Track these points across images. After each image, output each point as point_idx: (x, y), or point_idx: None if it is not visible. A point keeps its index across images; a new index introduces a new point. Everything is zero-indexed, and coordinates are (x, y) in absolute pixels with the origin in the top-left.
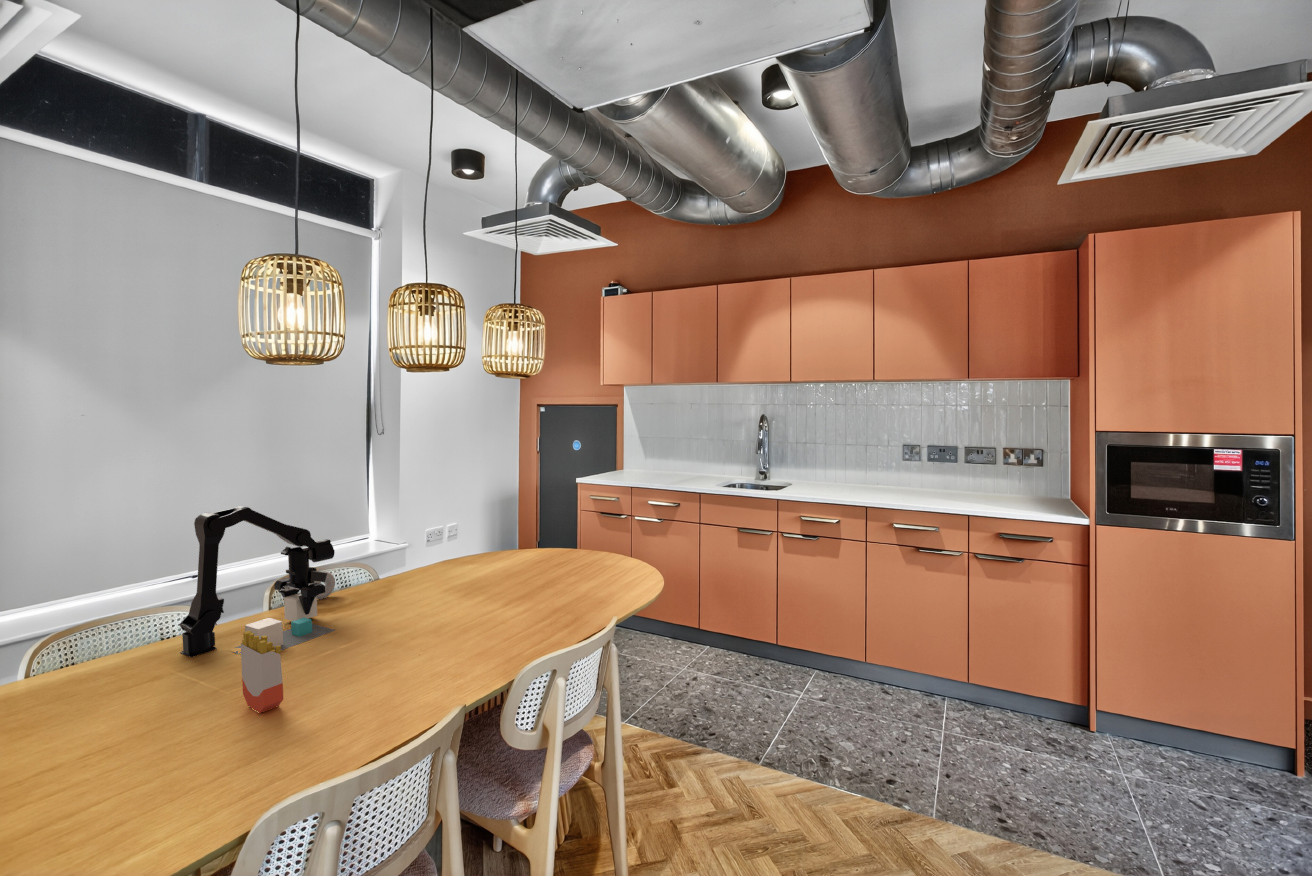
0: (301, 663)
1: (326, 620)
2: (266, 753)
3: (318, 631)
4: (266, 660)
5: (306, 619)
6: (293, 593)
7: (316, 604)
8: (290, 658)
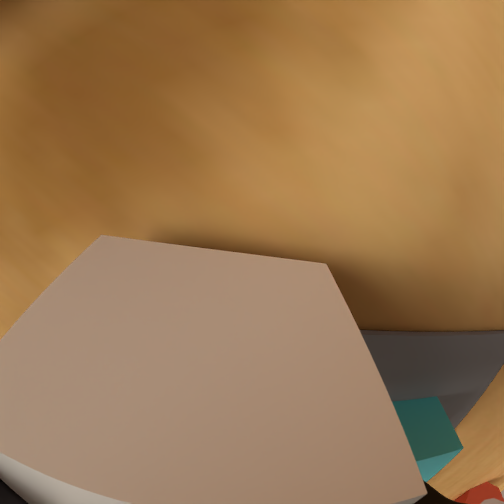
0: (481, 456)
1: (407, 234)
2: (498, 485)
3: (460, 378)
4: None
5: (434, 461)
6: (5, 498)
7: (362, 350)
8: (450, 467)
